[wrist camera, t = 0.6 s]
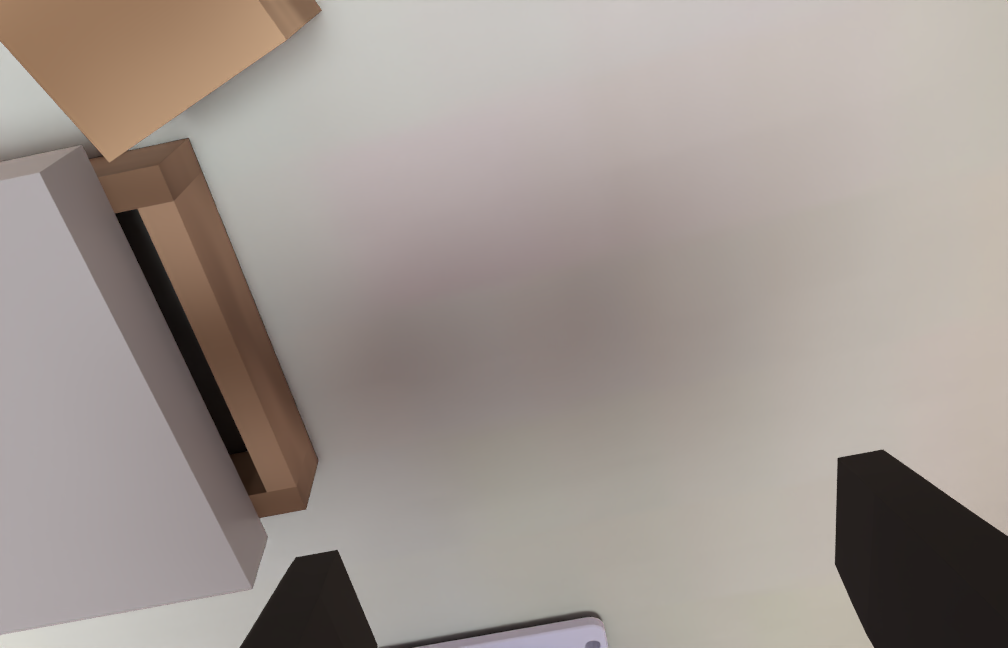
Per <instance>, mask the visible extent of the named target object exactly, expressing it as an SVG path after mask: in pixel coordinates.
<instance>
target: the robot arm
mask: <svg viewBox="0 0 1008 648" xmlns="http://www.w3.org/2000/svg"><path fill="white" fill-rule="evenodd" d="M835 565H836V567H837V570H838V572H839V574H840V577H841V579H842V581H843V584H844V586H845V588H846V590H847V593H848V595H849V597H850V600H851V602H852V604H853V606H854V608H855V611H856V613H857V615H858V617H859V619H860V621H861V623H862V626H863V628H864V630H865V632H866V634H867V636H868V638H869V639H870V641H871V643H872V645H873V646H874V648H1008V536H1007V535H1005V534H1004V533H1002V532H1001V531H999V530H998V529H996V528H995V527H993V526H992V525H990V524H989V523H987V522H986V521H984V520H983V519H982V518H980V517H979V516H977V515H976V514H974V513H973V512H971V511H970V510H969V509H967V508H966V507H964V506H963V505H961V504H960V503H958V502H957V501H956V500H954V499H953V498H951V497H950V496H948V495H947V494H946V493H944V492H943V491H941V490H940V489H938V488H937V487H936V486H934V485H933V484H931V483H930V482H929V481H927V480H926V479H924V478H923V477H921V476H920V475H919V474H917V473H916V472H914V471H913V470H911V469H910V468H909V467H907V466H906V465H904V464H903V463H901V462H900V461H899V460H897V459H896V458H894V457H893V456H891V455H890V454H889V453H887V452H886V451H884V450H878V451H873V452H867V453H862V454H856V455H851V456H845V457H840V458H838V467H837V506H836V545H835ZM240 648H377V643H376V640H375V638H374V636H373V633H372V631H371V628H370V626H369V624H368V621H367V619H366V617H365V614H364V612H363V609H362V607H361V605H360V602H359V600H358V597H357V595H356V593H355V590H354V588H353V585H352V583H351V581H350V578H349V576H348V574H347V571H346V569H345V566H344V564H343V562H342V559H341V557H340V554H339V552H338V550H334V551H329V552H323V553H318V554H313V555H307V556H302V557H296V558H295V560H294V561H293V562H292V564H291V565H290V567H289V568H288V570H287V572H286V573H285V575H284V576H283V578H282V580H281V581H280V583H279V584H278V586H277V588H276V589H275V591H274V593H273V594H272V596H271V598H270V599H269V601H268V603H267V604H266V606H265V608H264V609H263V611H262V612H261V614H260V616H259V617H258V619H257V621H256V622H255V624H254V625H253V627H252V629H251V630H250V632H249V634H248V635H247V637H246V638H245V640H244V642H243V643H242V645H241V646H240ZM414 648H608V643H607V638H606V633H605V628H604V624H603V622H602V621H601V620H600V619H598V618H595V617H585V618H579V619H574V620H568V621H562V622H557V623H551V624H545V625H539V626H534V627H528V628H522V629H517V630H511V631H505V632H500V633H494V634H488V635H482V636H477V637H471V638H465V639H460V640H454V641H448V642H442V643H437V644H431V645H425V646H420V647H414Z"/></svg>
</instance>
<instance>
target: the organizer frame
mask: <svg viewBox="0 0 1008 648" xmlns="http://www.w3.org/2000/svg"><path fill="white" fill-rule="evenodd" d="M89 160H90V162H91V165H92V167H93V169H94V171H95V173H96V175H97V177H98V179H99V181H100V184H101V186H102V188H103V190H104V192H105V194H106V196H107V198H108V200H109V203H110V205H111V207H112V209H113V211H114V213H119V212H124V211H129V210H134V209H138V211H139V213H140V216H141V218H142V220H143V222H144V224H145V227H146V229H147V231H148V233H149V235H150V237H151V240H152V242H153V244H154V246H155V248H156V251H157V253H158V255H159V257H160V259H161V262H162V264H163V266H164V268H165V270H166V273H167V275H168V277H169V279H170V281H171V283H172V286H173V288H174V290H175V292H176V294H177V297H178V299H179V301H180V303H181V305H182V308H183V310H184V312H185V314H186V316H187V318H188V321H189V323H190V325H191V327H192V329H193V332H194V334H195V336H196V338H197V340H198V343H199V345H200V347H201V349H202V351H203V353H204V356H205V358H206V360H207V362H208V364H209V367H210V369H211V371H212V373H213V375H214V378H215V380H216V382H217V384H218V386H219V388H220V391H221V393H222V395H223V397H224V399H225V402H226V404H227V406H228V408H229V410H230V413H231V415H232V417H233V419H234V421H235V424H236V426H237V428H238V430H239V432H240V434H241V437H242V439H243V441H244V443H245V445H246V448H247V450H248V451H246V452H241V453H235V454H230V455H229V456H230V458H231V460H232V462H233V464H234V466H235V468H236V470H237V473H238V475H239V477H240V479H241V481H242V483H243V485H244V487H245V489H246V492H247V494H248V496H249V498H250V500H251V502H252V504H253V506H254V508H255V511H256V513H257V515H258V517H259V518H262V517H267V516H273V515H278V514H283V513H289V512H294V511H300V510H305V509H306V508H307V504H308V500H309V496H310V492H311V488H312V484H313V480H314V476H315V472H316V468H317V464H318V459H317V457H316V454H315V452H314V449H313V447H312V444H311V442H310V439H309V437H308V434H307V432H306V429H305V427H304V424H303V422H302V419H301V417H300V414H299V412H298V409H297V407H296V404H295V402H294V399H293V397H292V394H291V392H290V390H289V387H288V385H287V382H286V380H285V377H284V375H283V372H282V370H281V367H280V365H279V362H278V360H277V357H276V355H275V352H274V350H273V347H272V345H271V342H270V340H269V337H268V335H267V332H266V330H265V327H264V325H263V322H262V320H261V317H260V315H259V312H258V310H257V308H256V305H255V303H254V300H253V298H252V295H251V293H250V290H249V288H248V285H247V283H246V280H245V278H244V275H243V273H242V270H241V268H240V265H239V263H238V260H237V258H236V255H235V253H234V250H233V248H232V245H231V243H230V240H229V238H228V235H227V233H226V231H225V228H224V226H223V223H222V221H221V218H220V216H219V213H218V211H217V208H216V206H215V203H214V201H213V198H212V196H211V193H210V191H209V188H208V186H207V183H206V181H205V178H204V176H203V173H202V171H201V168H200V166H199V163H198V161H197V158H196V156H195V153H194V151H193V149H192V146H191V144H190V141H189V139H188V138H187V139H182V140H177V141H172V142H168V143H163V144H158V145H154V146H149V147H144V148H139V149H135V150H130V151H125V152H124V153H123V154H121V155H120V156H118V157H117V158H115V159H114V160H112V161H111V162H110V163H109V162H108V161H107V159H106V158H105V157H104V156H101V157H97V158H92V159H89Z"/></svg>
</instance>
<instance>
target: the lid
mask: <svg viewBox="0 0 1008 648" xmlns="http://www.w3.org/2000/svg"><path fill="white" fill-rule="evenodd" d="M267 538H268V536H267V534H266V532H265V530H264V527H263V525H262V523H261V521H260V519H259V517H258V515H257V513H256V511H255V508H254V506H253V504H252V502H251V500H250V498H249V496H248V494H247V492H246V489H245V487H244V485H243V483H242V481H241V479H240V477H239V475H238V473H237V470H236V468H235V466H234V464H233V462H232V460H231V458H230V456H229V454H228V451H227V449H226V447H225V445H224V443H223V441H222V439H221V437H220V435H219V432H218V430H217V428H216V426H215V424H214V422H213V420H212V418H211V416H210V413H209V411H208V409H207V407H206V405H205V403H204V401H203V399H202V397H201V395H200V392H199V390H198V388H197V386H196V384H195V382H194V380H193V378H192V376H191V373H190V371H189V369H188V367H187V365H186V363H185V361H184V359H183V357H182V354H181V352H180V350H179V348H178V346H177V344H176V342H175V340H174V338H173V335H172V333H171V331H170V329H169V327H168V325H167V323H166V321H165V319H164V316H163V314H162V312H161V310H160V308H159V306H158V304H157V302H156V300H155V297H154V295H153V293H152V291H151V289H150V287H149V285H148V283H147V281H146V278H145V276H144V274H143V272H142V270H141V268H140V266H139V264H138V262H137V260H136V257H135V255H134V253H133V251H132V249H131V247H130V245H129V243H128V241H127V238H126V236H125V234H124V232H123V230H122V228H121V226H120V224H119V222H118V219H117V217H116V215H115V213H114V211H113V209H112V207H111V205H110V203H109V200H108V198H107V196H106V194H105V192H104V190H103V188H102V186H101V184H100V181H99V179H98V177H97V175H96V173H95V171H94V169H93V167H92V165H91V162H90V160H89V158H88V156H87V154H86V152H85V150H84V148H83V146H82V145H78V146H73V147H68V148H64V149H59V150H54V151H50V152H45V153H40V154H35V155H31V156H26V157H21V158H17V159H12V160H7V161H3V162H0V635H2V634H7V633H13V632H18V631H24V630H29V629H35V628H40V627H46V626H52V625H57V624H63V623H68V622H74V621H79V620H85V619H90V618H96V617H101V616H107V615H112V614H118V613H123V612H129V611H134V610H140V609H146V608H151V607H157V606H162V605H168V604H173V603H179V602H184V601H190V600H195V599H201V598H206V597H212V596H217V595H223V594H228V593H234V592H239V591H245V590H251V589H253V585H254V582H255V579H256V575H257V572H258V569H259V565H260V562H261V559H262V555H263V552H264V549H265V545H266V542H267Z"/></svg>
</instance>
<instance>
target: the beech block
mask: <svg viewBox="0 0 1008 648" xmlns="http://www.w3.org/2000/svg"><path fill="white" fill-rule="evenodd" d="M320 11H322V10H321V8H320V7H319V5H318V4H317V2H316V1H315V0H0V41H1V42H2V43H3V45H4V46H5V47H6V48H7V49H8V50H9V51H10V52H11V54H12V55H13V56H14V57H15V58H16V59H17V60H18V61H19V62H20V64H21V65H22V66H23V67H24V68H25V69H26V70H27V71H28V72H29V74H30V75H31V76H32V77H33V78H34V79H35V80H36V81H37V83H38V84H39V85H40V86H41V87H42V88H43V89H44V90H45V91H46V93H47V94H48V95H49V96H50V97H51V98H52V99H53V100H54V101H55V103H56V104H57V105H58V106H59V107H60V108H61V109H62V110H63V112H64V113H65V114H66V115H67V116H68V117H69V118H70V119H71V120H72V122H73V123H74V124H75V125H76V126H77V127H78V128H79V129H80V130H81V132H82V133H83V134H84V135H85V136H86V137H87V138H88V139H89V141H90V142H91V143H92V144H93V145H94V146H95V147H96V148H97V149H98V151H99V152H100V153H101V154H102V155H103V156H104V157H105V158H106V159H107V161H108V162H109V163H110V162H111V161H112V160H114V159H115V158H117V157H118V156H120V155H121V154H123V153H124V152H125V151H127V150H128V149H130V148H131V147H133V146H134V145H136V144H137V143H138V142H140V141H141V140H143V139H144V138H146V137H147V136H149V135H150V134H151V133H153V132H154V131H156V130H157V129H159V128H160V127H162V126H163V125H164V124H166V123H167V122H169V121H170V120H172V119H173V118H175V117H176V116H178V115H179V114H180V113H182V112H183V111H185V110H186V109H188V108H189V107H191V106H192V105H193V104H195V103H196V102H198V101H199V100H201V99H202V98H204V97H205V96H206V95H208V94H209V93H211V92H212V91H214V90H215V89H217V88H218V87H219V86H221V85H222V84H224V83H225V82H227V81H228V80H230V79H231V78H232V77H234V76H235V75H237V74H238V73H240V72H241V71H243V70H244V69H246V68H247V67H248V66H250V65H251V64H253V63H254V62H256V61H257V60H259V59H260V58H261V57H263V56H264V55H266V54H267V53H269V52H270V51H272V50H273V49H274V48H276V47H277V46H279V45H280V44H282V43H283V42H285V41H286V40H287V39H289V38H290V37H291V36H292V35H293V34H294V33H296V32H297V31H298V30H299V29H300V28H302V27H303V26H304V25H305V24H306V23H307V22H309V21H310V20H311V19H312V18H313V17H315V16H316V15H317V14H318V13H319V12H320Z"/></svg>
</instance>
